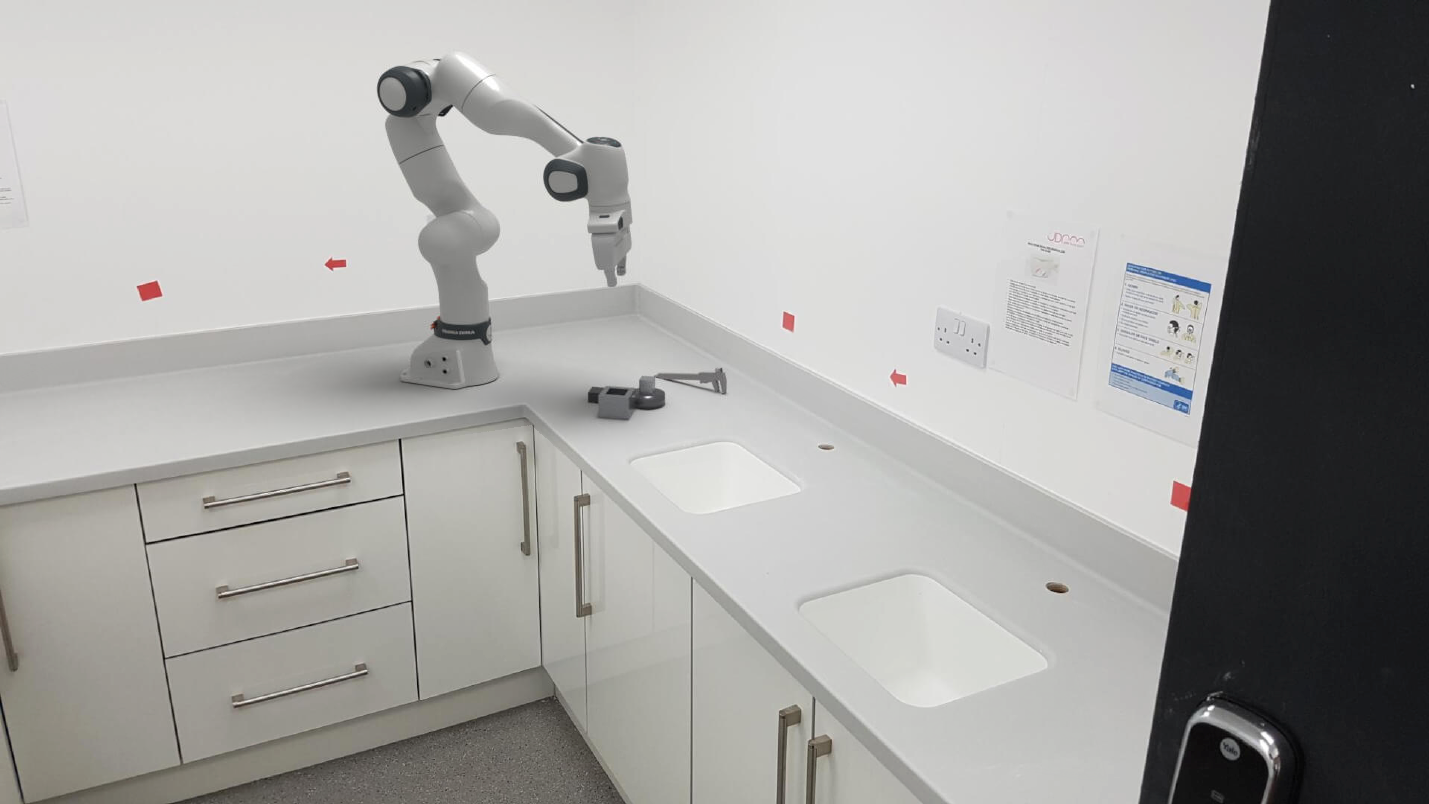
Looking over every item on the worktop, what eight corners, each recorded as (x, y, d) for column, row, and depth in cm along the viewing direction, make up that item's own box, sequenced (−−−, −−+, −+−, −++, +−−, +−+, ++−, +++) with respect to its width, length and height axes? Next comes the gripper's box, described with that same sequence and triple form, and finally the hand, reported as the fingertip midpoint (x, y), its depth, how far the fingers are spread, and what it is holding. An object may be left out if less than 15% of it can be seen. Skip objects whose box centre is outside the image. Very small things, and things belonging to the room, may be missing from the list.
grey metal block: (598, 417, 235) (598, 395, 233) (606, 407, 241) (605, 385, 239) (628, 419, 234) (628, 397, 232) (635, 409, 240) (635, 388, 238)
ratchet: (668, 399, 247) (668, 374, 245) (661, 411, 240) (661, 385, 238) (594, 393, 249) (594, 368, 247) (585, 405, 242) (585, 379, 240)
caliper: (726, 394, 252) (727, 368, 250) (723, 395, 251) (724, 369, 249) (655, 377, 263) (656, 352, 261) (653, 378, 262) (653, 353, 260)
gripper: (607, 207, 240) (613, 269, 245) (584, 227, 221) (592, 293, 226) (635, 206, 239) (640, 268, 244) (615, 225, 220) (621, 292, 225)
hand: (617, 280), depth 235 cm, fingers open, 8 cm apart
